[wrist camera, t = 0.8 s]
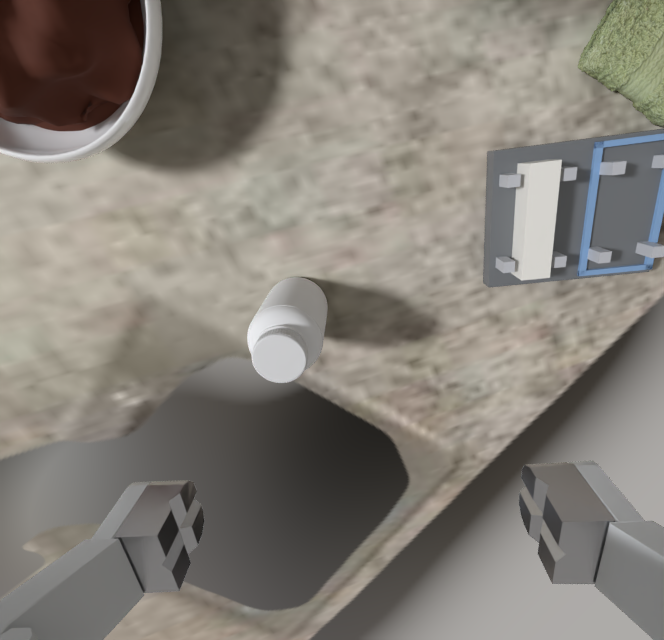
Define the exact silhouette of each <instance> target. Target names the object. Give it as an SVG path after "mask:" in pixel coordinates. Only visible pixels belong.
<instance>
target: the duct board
mask: <svg viewBox="0 0 664 640" xmlns="http://www.w3.org/2000/svg"><path fill="white" fill-rule="evenodd" d="M541 160H562V165H561V175H560V184H559V194H558V204H557V214H556V223H555V233H554V243H553V252H552V262H551V272H550V278H543V279H533V280H523V281H521V280H520V279H519V278H517V277H516V276H514V275H513V274H511V272H515V261H514V260H512V247H513V231H514V215H515V198H516V187H520V181H521V174H517V166H518V163H525V162H533V161H541ZM663 213H664V129H657V130H650V131H642V132H634V133H626V134H619V135H611V136H603V137H596V138H588V139H580V140H573V141H565V142H557V143H549V144H542V145H534V146H526V147H519V148H511V149H503V150H496V151H488V152H487V181H486V211H485V242H484V272H483V283H484V284H485V285H486V286H488V287H498V286H508V285H518V284H528V283H539V282H549V281H559V280H569V279H579V278H589V277H599V276H610V275H620V274H630V273H640V272H649V270H650V269H652V266H653V261H654V258H658V257H664V245H661V244H657V242H658V237H659V233H660V228H661V223H662V218H663Z"/></svg>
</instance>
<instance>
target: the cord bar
mask: <svg viewBox="0 0 664 640" xmlns="http://www.w3.org/2000/svg"><path fill="white" fill-rule="evenodd" d="M561 165H562V160H541V161H533V162H525V163H518V166H517V174H521V181H520V187H516V198H515V215H514V231H513V247H512V260H514V261H515V272H511V274H513V275H514V276H516V277H517V278H519V279H520V280H521V281H523V280H533V279H543V278H550V272H551V262H552V252H553V243H554V233H555V223H556V214H557V204H558V194H559V184H560V175H561Z"/></svg>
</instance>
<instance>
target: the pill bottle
mask: <svg viewBox="0 0 664 640" xmlns="http://www.w3.org/2000/svg"><path fill="white" fill-rule="evenodd" d="M327 311H328V305H327V300H326V297H325V295H324V293H323V291H322V290H321V288H320V287H319V286H318V285H317V284H315V283H314V282H312V281H310V280H308V279H305V278H301V277H291V278H287V279H284V280H282V281H280V282H279V283H277V284H276V285H275V286H274V287H273V288H272V289H271V291H270V292H269V294H268V296H267V297H266V299H265V300H264V302H263V304H262V305H261V307H260V308H259V310H258V312H257V313H256V315H255V317H254V318H253V320H252V322H251V324H250V326H249V329H248V334H247V340H248V347H249V350H250V352H251V354H252V362H253V365H254V367H255V369H256V371H257V372H258V373H259V374H260V375H261V376H262V377H264V378H265V379H267V380H269V381H272V382H277V383H286V382H290V381H293V380H295V379H297V378H298V377H300V376H301V375H302V374H303V372H304V371H305V370H306V369H308V368H309V367H310V366H312V365H313V364H314V363H315V361H316V360H317V359H318V357H319V355H320V353H321V350H322V346H323V340H324V333H325V326H326V319H327Z"/></svg>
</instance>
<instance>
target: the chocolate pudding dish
mask: <svg viewBox="0 0 664 640" xmlns="http://www.w3.org/2000/svg"><path fill="white" fill-rule="evenodd" d="M161 51H162V12H161V2H160V0H0V153H1V154H4V155H6V156H10V157H13V158H16V159H20V160H25V161H30V162H38V163H63V162H71V161H77V160H81V159H85V158H88V157H91V156H93V155H96V154H98V153H100V152H102V151H104V150H106V149H108V148H109V147H111V146H112V145H113V144H115V143H116V142H118V141H119V140H120V139H121V138H122V137H123V136H124V135H125V134H126V133H127V132H128V131H129V130H130V129H131V128H132V126H133V125H134V124H135V123H136V121H137V120H138V118H139V117H140V115H141V114H142V112H143V110H144V109H145V107H146V105H147V103H148V101H149V99H150V96H151V94H152V91H153V88H154V86H155V82H156V79H157V75H158V71H159V66H160V60H161Z"/></svg>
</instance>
